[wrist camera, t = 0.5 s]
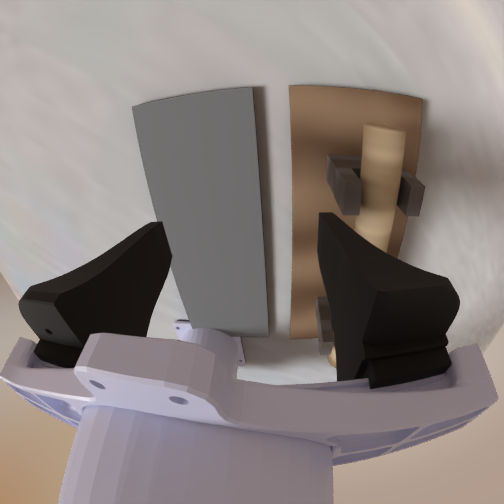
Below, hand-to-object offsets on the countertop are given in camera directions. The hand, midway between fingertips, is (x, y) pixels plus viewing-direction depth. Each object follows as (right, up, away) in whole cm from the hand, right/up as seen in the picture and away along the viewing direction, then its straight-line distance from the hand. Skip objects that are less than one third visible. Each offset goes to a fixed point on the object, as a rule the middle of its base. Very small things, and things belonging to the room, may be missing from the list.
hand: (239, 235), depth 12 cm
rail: (+9, -2, +8) cm, 12 cm away
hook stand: (+9, 0, +11) cm, 14 cm away
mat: (-3, 0, +12) cm, 12 cm away
